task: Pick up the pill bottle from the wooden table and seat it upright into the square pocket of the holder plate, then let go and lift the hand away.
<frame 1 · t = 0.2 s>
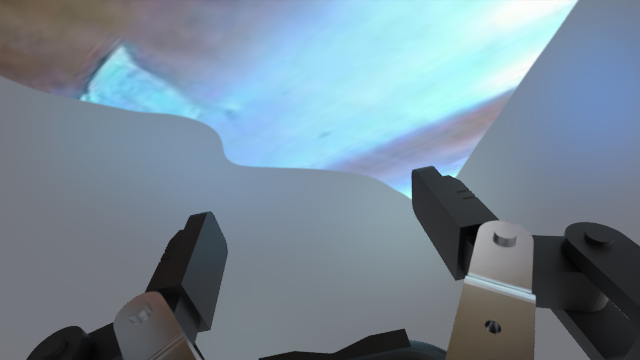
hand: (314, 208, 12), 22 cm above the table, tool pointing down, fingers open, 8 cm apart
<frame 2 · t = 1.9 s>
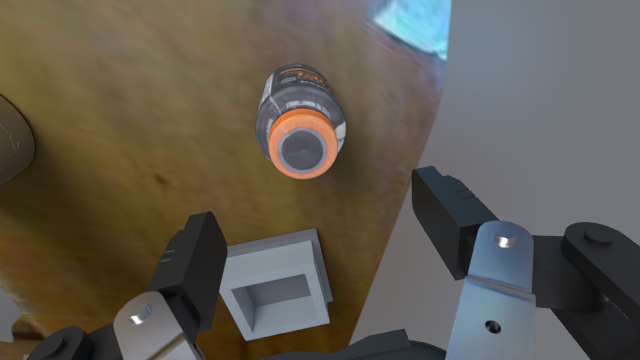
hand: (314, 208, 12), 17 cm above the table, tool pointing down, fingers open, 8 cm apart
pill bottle: (296, 97, 27), on the table
holder: (277, 274, 37), on the table
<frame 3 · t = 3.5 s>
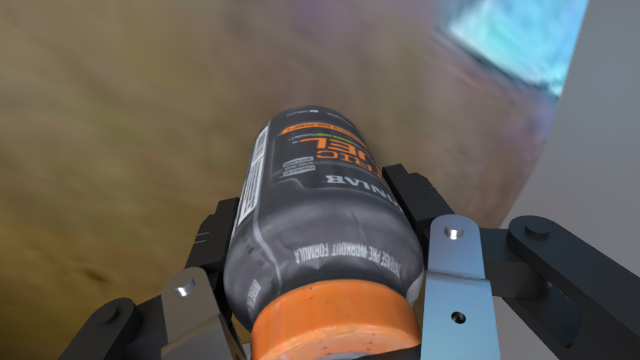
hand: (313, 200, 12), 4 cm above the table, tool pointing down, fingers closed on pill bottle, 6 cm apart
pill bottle: (307, 155, 16), on the table, touching gripper
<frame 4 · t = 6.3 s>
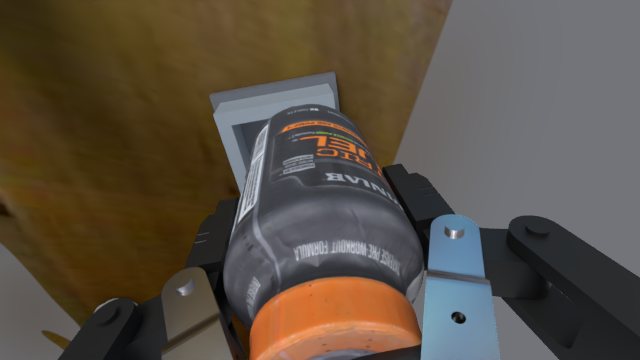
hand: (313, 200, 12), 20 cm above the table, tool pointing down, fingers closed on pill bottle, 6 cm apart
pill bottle: (308, 154, 16), point 15 cm above the table, touching gripper
holder: (285, 138, 32), on the table
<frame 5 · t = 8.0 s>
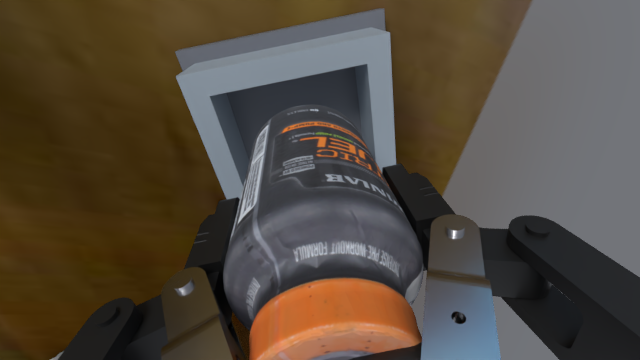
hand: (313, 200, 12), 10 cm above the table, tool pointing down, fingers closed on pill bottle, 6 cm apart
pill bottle: (308, 154, 16), point 5 cm above the table, touching gripper
holder: (300, 123, 21), on the table
when the fingers open (7 cm above the table, at t = 9.2 s): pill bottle drops 1 cm, resting on holder.
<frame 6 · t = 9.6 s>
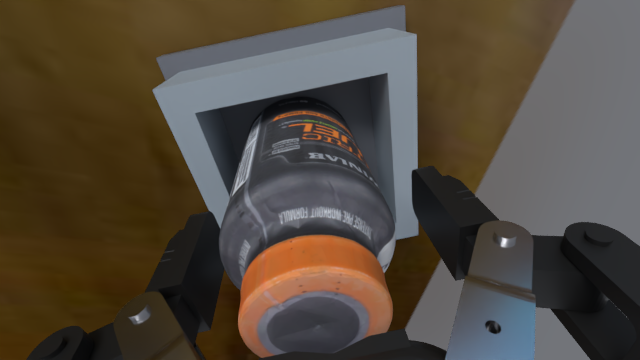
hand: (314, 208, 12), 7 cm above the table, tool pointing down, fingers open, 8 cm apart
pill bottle: (299, 144, 17), point 1 cm above the table, touching holder
holder: (304, 139, 18), on the table
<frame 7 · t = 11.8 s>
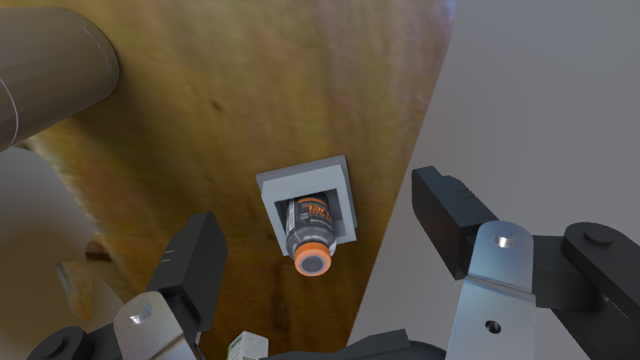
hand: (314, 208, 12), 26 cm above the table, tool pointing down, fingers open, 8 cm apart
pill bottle: (307, 203, 42), point 1 cm above the table, touching holder
syrup box: (249, 340, 59), on the table
holder: (309, 200, 43), on the table
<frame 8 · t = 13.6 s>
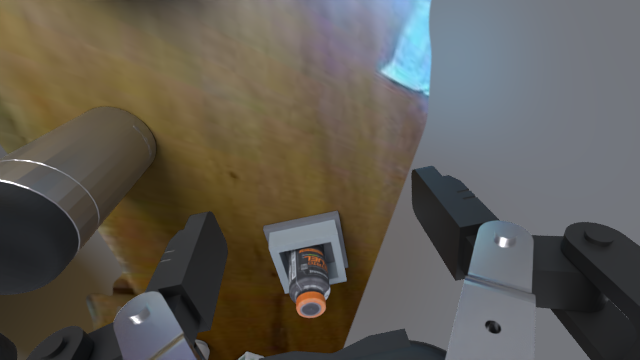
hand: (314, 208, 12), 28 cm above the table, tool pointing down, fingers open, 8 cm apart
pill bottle: (306, 249, 50), point 1 cm above the table, touching holder
energy drink can: (195, 345, 62), on the table
syrup box: (251, 359, 66), on the table
holder: (308, 245, 51), on the table
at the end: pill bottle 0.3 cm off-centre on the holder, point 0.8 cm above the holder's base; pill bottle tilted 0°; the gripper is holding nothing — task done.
